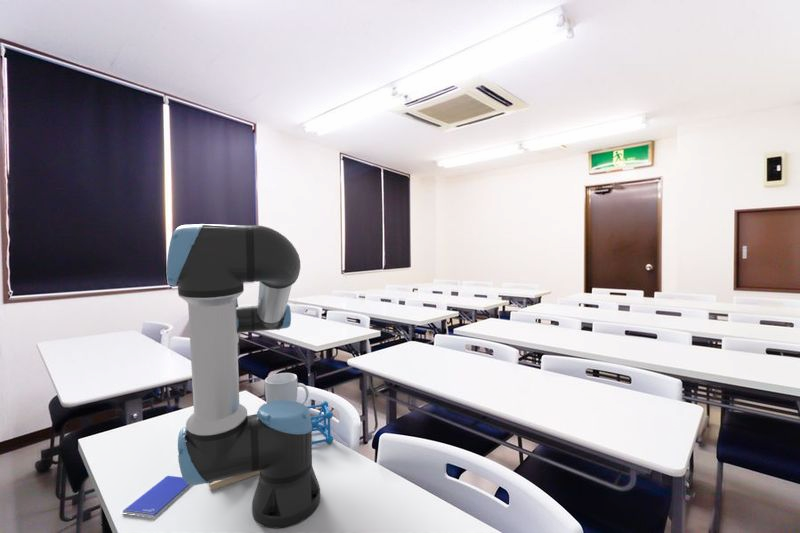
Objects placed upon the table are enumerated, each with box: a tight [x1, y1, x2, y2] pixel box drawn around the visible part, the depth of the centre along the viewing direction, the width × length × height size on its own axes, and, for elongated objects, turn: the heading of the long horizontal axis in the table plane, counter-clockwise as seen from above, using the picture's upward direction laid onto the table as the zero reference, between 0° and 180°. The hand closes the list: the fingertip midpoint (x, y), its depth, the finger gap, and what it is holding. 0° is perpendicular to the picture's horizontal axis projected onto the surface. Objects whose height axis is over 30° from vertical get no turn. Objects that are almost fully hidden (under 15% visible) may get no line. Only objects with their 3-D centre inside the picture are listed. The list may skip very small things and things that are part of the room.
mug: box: [264, 372, 310, 405], centre depth 129 cm, size 15×11×13 cm
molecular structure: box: [306, 400, 334, 445], centre depth 111 cm, size 10×10×10 cm
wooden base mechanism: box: [208, 470, 260, 491], centre depth 101 cm, size 23×12×6 cm, turn 35°
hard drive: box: [122, 475, 192, 519], centre depth 86 cm, size 2×8×12 cm
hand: (228, 417), depth 114 cm, fingers closed
